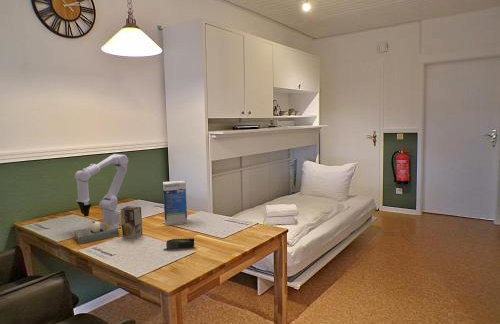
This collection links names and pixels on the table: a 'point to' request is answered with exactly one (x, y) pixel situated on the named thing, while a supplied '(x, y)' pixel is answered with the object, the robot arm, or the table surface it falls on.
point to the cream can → (95, 227)
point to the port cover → (111, 227)
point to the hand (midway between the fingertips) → (85, 214)
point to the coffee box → (131, 222)
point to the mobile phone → (180, 244)
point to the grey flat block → (94, 234)
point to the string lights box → (175, 202)
